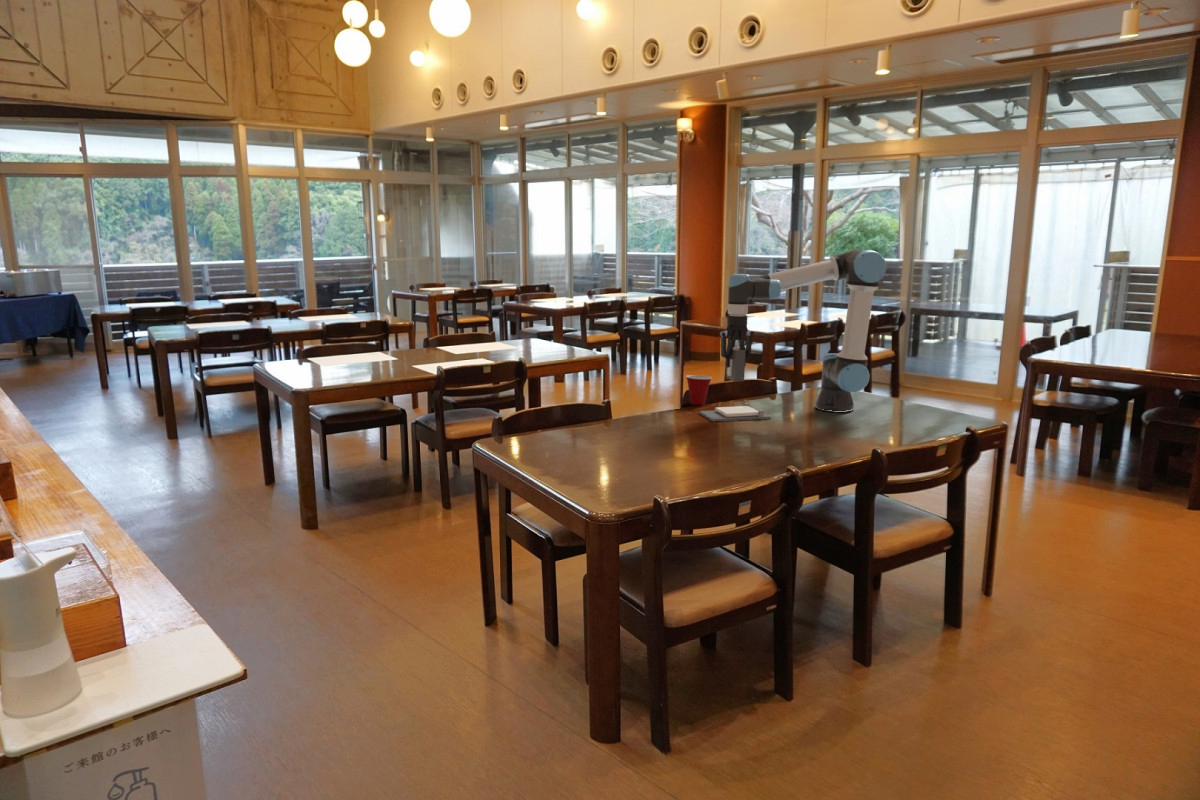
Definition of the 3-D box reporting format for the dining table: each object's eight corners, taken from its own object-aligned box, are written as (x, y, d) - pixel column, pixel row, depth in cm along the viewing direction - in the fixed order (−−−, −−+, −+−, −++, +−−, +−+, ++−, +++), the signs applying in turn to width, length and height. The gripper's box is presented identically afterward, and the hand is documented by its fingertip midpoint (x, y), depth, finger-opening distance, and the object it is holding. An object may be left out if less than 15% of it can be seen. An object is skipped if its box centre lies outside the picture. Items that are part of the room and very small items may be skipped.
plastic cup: (715, 403, 330) (716, 375, 327) (704, 407, 321) (705, 379, 319) (691, 399, 336) (692, 372, 333) (680, 404, 327) (681, 376, 324)
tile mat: (754, 410, 317) (755, 402, 316) (770, 419, 303) (771, 410, 303) (699, 413, 311) (699, 404, 310) (713, 422, 297) (713, 413, 297)
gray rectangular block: (735, 377, 308) (736, 347, 305) (744, 381, 300) (745, 350, 298) (726, 377, 307) (727, 347, 304) (734, 381, 300) (735, 350, 297)
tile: (747, 405, 314) (715, 407, 310) (760, 412, 303) (726, 413, 300) (747, 409, 314) (715, 411, 311) (759, 415, 304) (726, 417, 300)
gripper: (753, 313, 304) (751, 372, 309) (712, 314, 300) (710, 374, 305) (762, 315, 297) (759, 376, 302) (720, 316, 293) (718, 378, 298)
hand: (735, 375), depth 303 cm, fingers closed on gray rectangular block, 4 cm apart
